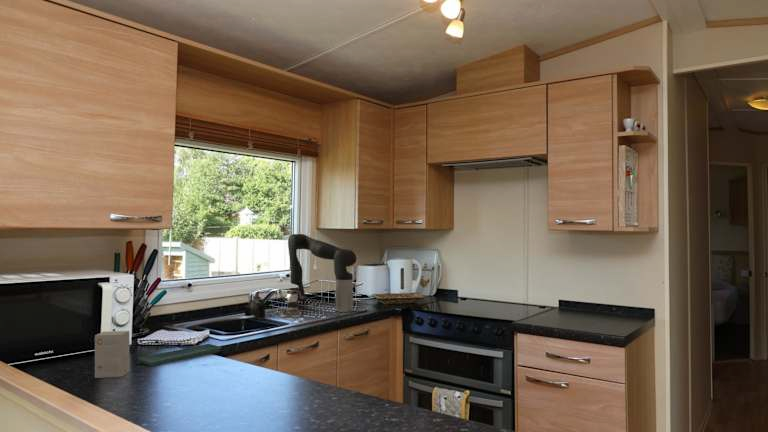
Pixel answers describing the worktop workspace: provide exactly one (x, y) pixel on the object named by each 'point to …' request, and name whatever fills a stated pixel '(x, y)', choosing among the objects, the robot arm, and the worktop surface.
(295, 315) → the base board
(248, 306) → the camera
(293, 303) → the lens
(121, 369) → the small box
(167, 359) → the dark green board
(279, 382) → the worktop surface
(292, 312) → the mount ring
